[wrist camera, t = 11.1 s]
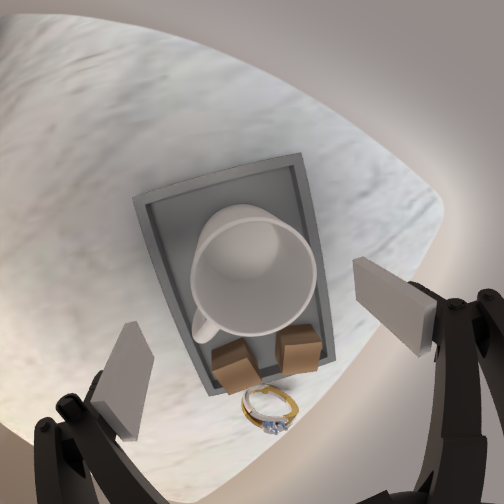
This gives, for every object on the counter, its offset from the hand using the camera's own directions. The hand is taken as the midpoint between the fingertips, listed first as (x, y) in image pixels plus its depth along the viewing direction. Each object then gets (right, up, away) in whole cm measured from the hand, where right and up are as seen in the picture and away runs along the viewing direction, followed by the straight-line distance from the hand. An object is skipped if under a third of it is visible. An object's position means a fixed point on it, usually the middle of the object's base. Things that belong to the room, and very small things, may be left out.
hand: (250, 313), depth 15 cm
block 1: (-2, -9, +15) cm, 18 cm away
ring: (+2, -14, +18) cm, 23 cm away
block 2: (+5, -7, +16) cm, 18 cm away
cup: (-2, +3, +12) cm, 13 cm away
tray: (-1, 0, +14) cm, 14 cm away
